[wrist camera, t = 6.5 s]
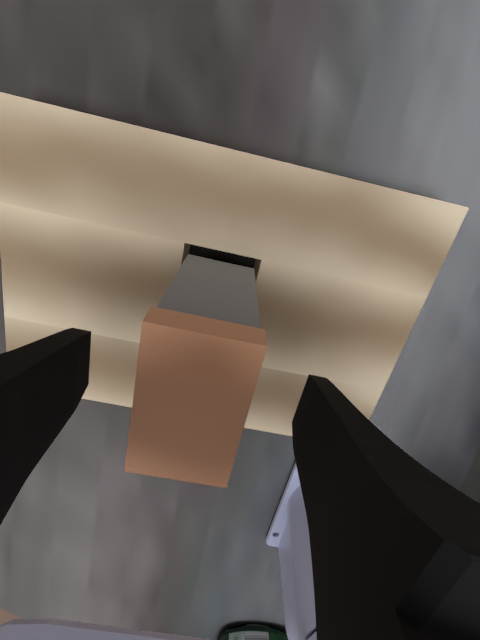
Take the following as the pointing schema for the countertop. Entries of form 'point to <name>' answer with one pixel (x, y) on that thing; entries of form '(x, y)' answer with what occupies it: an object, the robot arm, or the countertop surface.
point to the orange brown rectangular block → (196, 374)
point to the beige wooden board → (215, 233)
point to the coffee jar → (253, 633)
